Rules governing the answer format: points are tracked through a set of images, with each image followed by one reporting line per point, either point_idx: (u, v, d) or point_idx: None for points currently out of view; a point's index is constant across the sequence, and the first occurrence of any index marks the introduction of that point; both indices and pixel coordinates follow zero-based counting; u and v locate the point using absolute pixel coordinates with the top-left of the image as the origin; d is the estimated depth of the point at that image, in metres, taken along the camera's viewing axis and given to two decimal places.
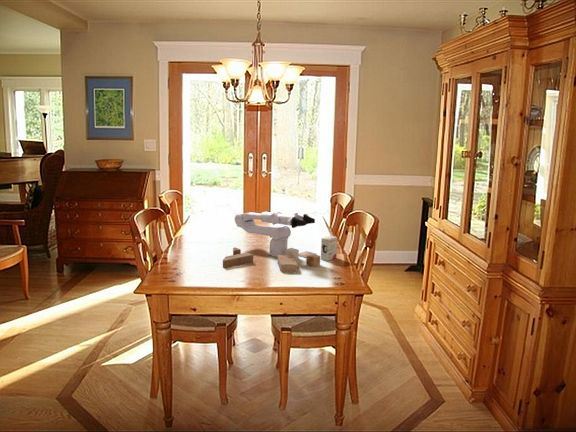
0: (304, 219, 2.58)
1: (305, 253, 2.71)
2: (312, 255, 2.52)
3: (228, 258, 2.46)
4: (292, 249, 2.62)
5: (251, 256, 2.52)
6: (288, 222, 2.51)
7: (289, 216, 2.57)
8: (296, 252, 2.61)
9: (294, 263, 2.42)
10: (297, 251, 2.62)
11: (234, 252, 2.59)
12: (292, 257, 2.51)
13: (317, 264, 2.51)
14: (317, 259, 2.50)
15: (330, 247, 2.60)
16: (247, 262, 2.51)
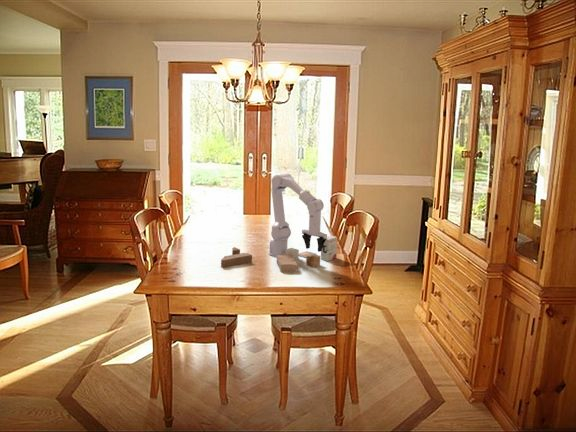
0: None
1: (305, 253, 2.71)
2: (312, 255, 2.52)
3: (226, 258, 2.46)
4: (292, 249, 2.62)
5: (250, 256, 2.52)
6: None
7: (309, 226, 2.48)
8: (296, 252, 2.61)
9: (294, 263, 2.42)
10: (297, 251, 2.62)
11: (233, 252, 2.59)
12: (291, 257, 2.51)
13: (317, 264, 2.51)
14: (317, 259, 2.50)
15: (330, 247, 2.60)
16: (246, 262, 2.51)
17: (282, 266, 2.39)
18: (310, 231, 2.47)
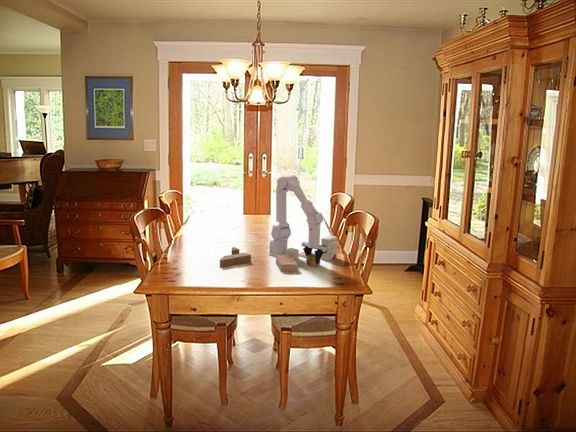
0: None
1: None
2: (312, 255, 2.52)
3: (225, 258, 2.47)
4: (292, 249, 2.62)
5: (249, 256, 2.52)
6: None
7: (308, 239, 2.49)
8: (296, 252, 2.61)
9: (294, 263, 2.42)
10: (297, 251, 2.62)
11: (233, 252, 2.60)
12: (291, 257, 2.51)
13: (317, 264, 2.51)
14: None
15: (330, 247, 2.60)
16: (245, 262, 2.51)
17: (282, 266, 2.39)
18: (309, 244, 2.48)
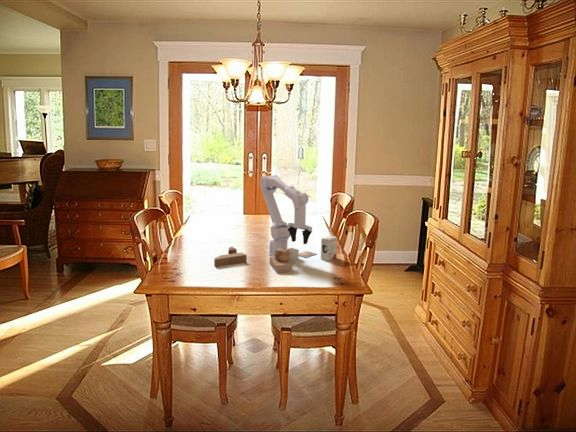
0: None
1: (305, 253, 2.71)
2: (281, 249, 2.46)
3: (220, 257, 2.47)
4: (292, 249, 2.62)
5: (244, 256, 2.52)
6: None
7: (294, 219, 2.52)
8: (296, 252, 2.61)
9: (289, 263, 2.41)
10: (297, 251, 2.62)
11: (229, 251, 2.60)
12: None
13: (287, 258, 2.45)
14: (286, 253, 2.44)
15: (330, 247, 2.60)
16: (240, 262, 2.51)
17: (278, 267, 2.38)
18: (295, 224, 2.51)
